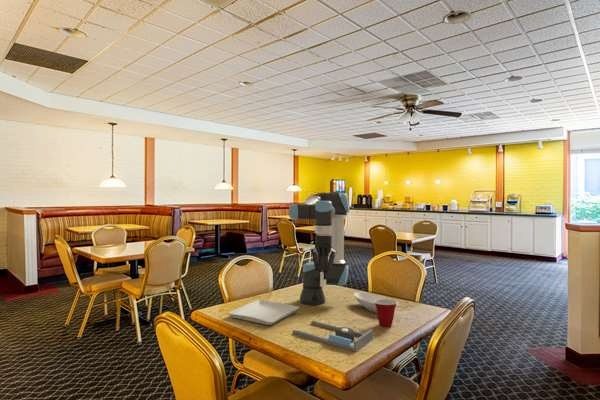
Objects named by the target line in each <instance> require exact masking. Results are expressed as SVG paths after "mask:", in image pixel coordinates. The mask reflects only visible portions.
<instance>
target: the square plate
mask: <svg viewBox="0 0 600 400" xmlns="http://www.w3.org/2000/svg"><path fill="white" fill-rule="evenodd" d="M298 309H300V306H297V305H292V304H287V303H284V302H283V303H282V302H277V301H270V300H265V299H257V300H254V301H252V302H251V301H250V302H249V303H247V304H244V305H242V306H240V307H237V308H236V309H233V310H231V311H229V312H227V314H228V315H229V316H230V317H231V318H235V319H240V320H243V321H248V322H253V323H256V324H257V323H258V324H260V325H261V324H262V325H266V326H271V325H274V324H275V323H277V322H279V321H280V320H282V319H284V318H286V317H288V316H290V315H292V314H293V313H295V312H296V311H297V310H298Z"/></svg>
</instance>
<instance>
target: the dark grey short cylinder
mask: <svg viewBox="0 0 600 400" xmlns="http://www.w3.org/2000/svg"><path fill="white" fill-rule="evenodd" d="M354 331H355V330H354V329H353V328H351V327H347V326H346V327H345V326H343V327H340V328H337V329H336V330H334V333H335V334H334V335H336V336H339V337H343V338H347V339H351V340H352V343H354V341H355V335H354Z"/></svg>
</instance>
